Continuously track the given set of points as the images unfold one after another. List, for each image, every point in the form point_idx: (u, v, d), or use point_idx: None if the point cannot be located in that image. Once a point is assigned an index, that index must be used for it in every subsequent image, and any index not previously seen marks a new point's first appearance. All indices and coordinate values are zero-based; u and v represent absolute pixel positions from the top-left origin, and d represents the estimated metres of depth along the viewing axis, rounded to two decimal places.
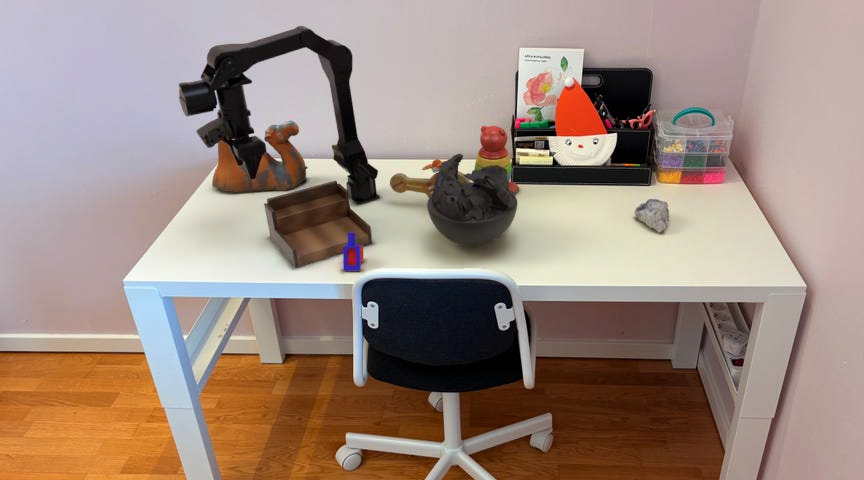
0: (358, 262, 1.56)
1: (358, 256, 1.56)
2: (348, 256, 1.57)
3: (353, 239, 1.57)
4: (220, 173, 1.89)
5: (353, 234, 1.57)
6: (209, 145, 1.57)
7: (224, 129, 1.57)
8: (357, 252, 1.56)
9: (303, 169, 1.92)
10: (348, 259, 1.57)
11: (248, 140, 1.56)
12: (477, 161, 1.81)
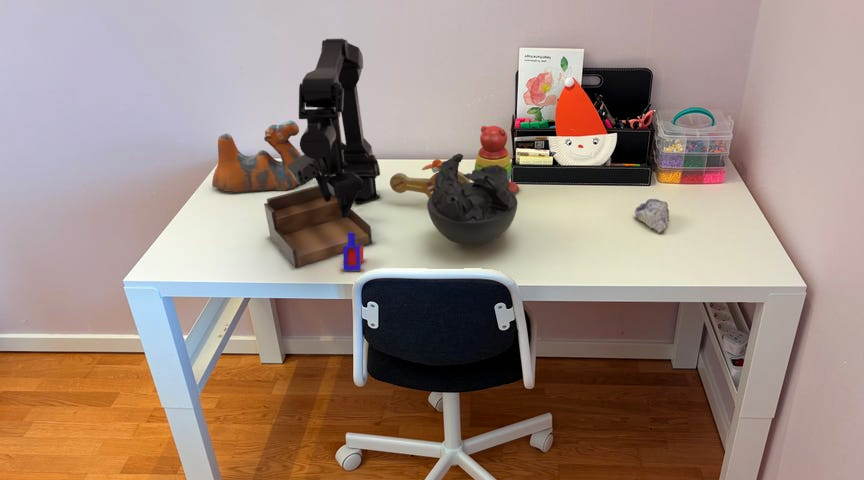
0: (358, 262, 1.56)
1: (358, 256, 1.56)
2: (348, 256, 1.57)
3: (353, 239, 1.57)
4: (220, 173, 1.89)
5: (353, 234, 1.57)
6: (302, 182, 1.44)
7: (318, 165, 1.44)
8: (357, 252, 1.56)
9: None
10: (348, 259, 1.57)
11: (345, 177, 1.43)
12: (477, 161, 1.81)
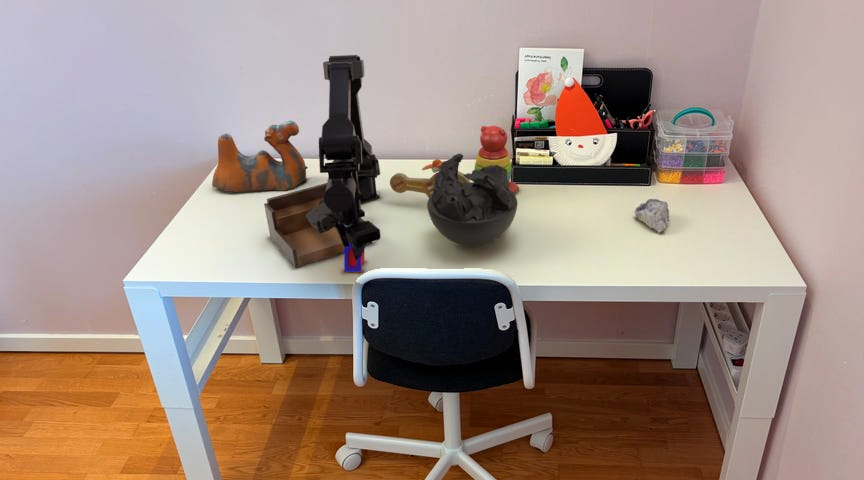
0: (359, 263, 1.56)
1: (359, 257, 1.56)
2: (349, 257, 1.56)
3: None
4: (220, 173, 1.89)
5: None
6: (320, 231, 1.49)
7: (336, 214, 1.49)
8: None
9: (303, 169, 1.92)
10: (349, 260, 1.56)
11: (362, 227, 1.48)
12: (477, 161, 1.81)
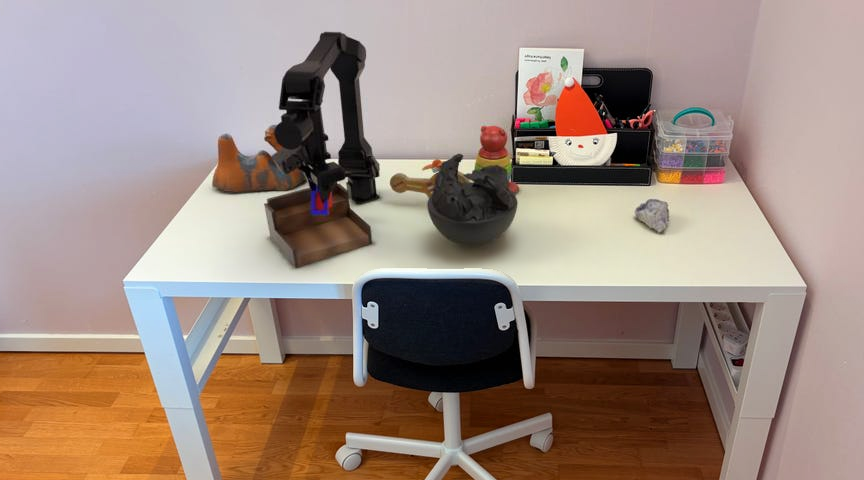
0: (326, 206, 1.57)
1: (326, 200, 1.57)
2: (316, 201, 1.58)
3: None
4: (220, 173, 1.89)
5: None
6: (286, 172, 1.50)
7: (301, 155, 1.50)
8: None
9: None
10: (316, 204, 1.58)
11: (327, 167, 1.49)
12: (477, 161, 1.81)
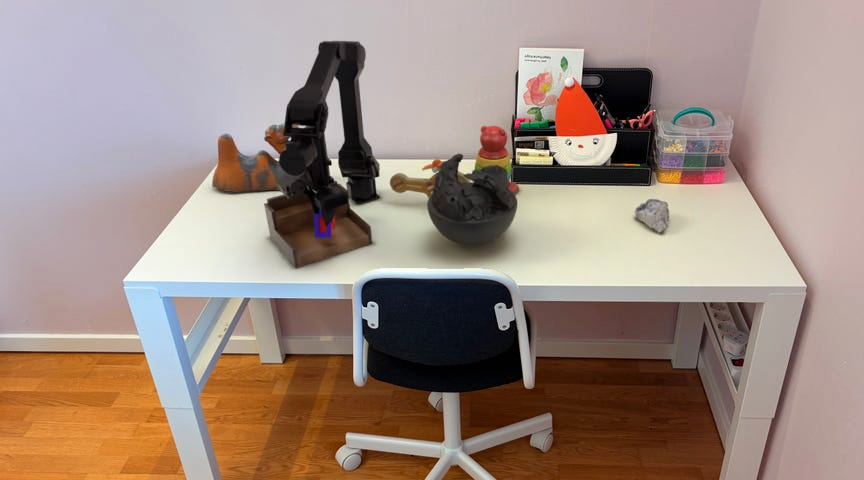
0: (329, 229, 1.60)
1: (329, 223, 1.60)
2: (319, 223, 1.61)
3: None
4: (220, 173, 1.89)
5: None
6: (290, 196, 1.53)
7: (305, 180, 1.53)
8: None
9: None
10: (319, 226, 1.61)
11: (330, 191, 1.52)
12: (477, 161, 1.81)
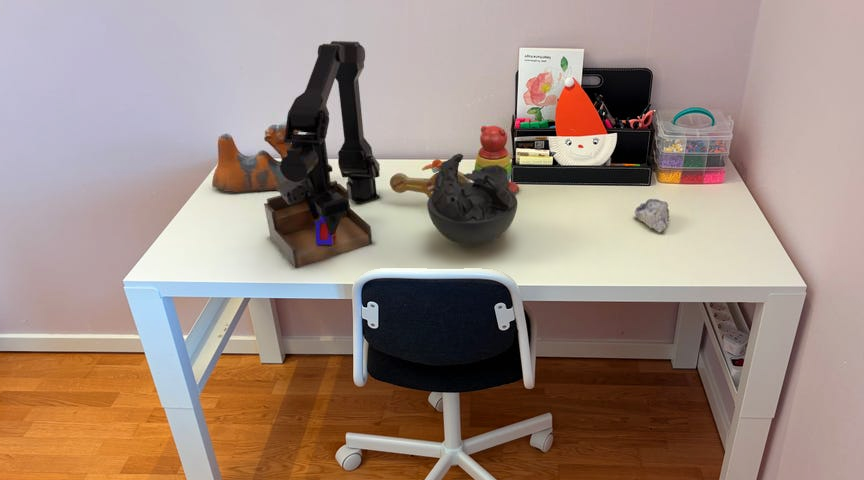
0: (330, 236, 1.61)
1: None
2: (320, 230, 1.62)
3: None
4: (220, 173, 1.89)
5: None
6: (291, 202, 1.53)
7: (306, 186, 1.54)
8: None
9: None
10: (320, 233, 1.62)
11: (331, 197, 1.52)
12: (477, 161, 1.81)
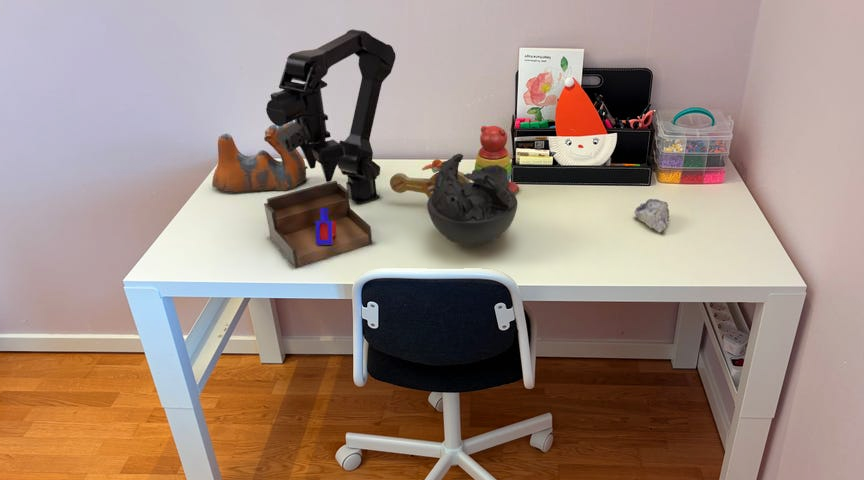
0: (330, 236, 1.61)
1: (330, 230, 1.61)
2: (320, 230, 1.62)
3: (326, 214, 1.62)
4: (220, 173, 1.89)
5: (325, 209, 1.62)
6: (289, 149, 1.61)
7: (303, 133, 1.61)
8: (329, 226, 1.61)
9: (303, 169, 1.92)
10: (320, 233, 1.62)
11: (327, 144, 1.60)
12: (477, 161, 1.81)
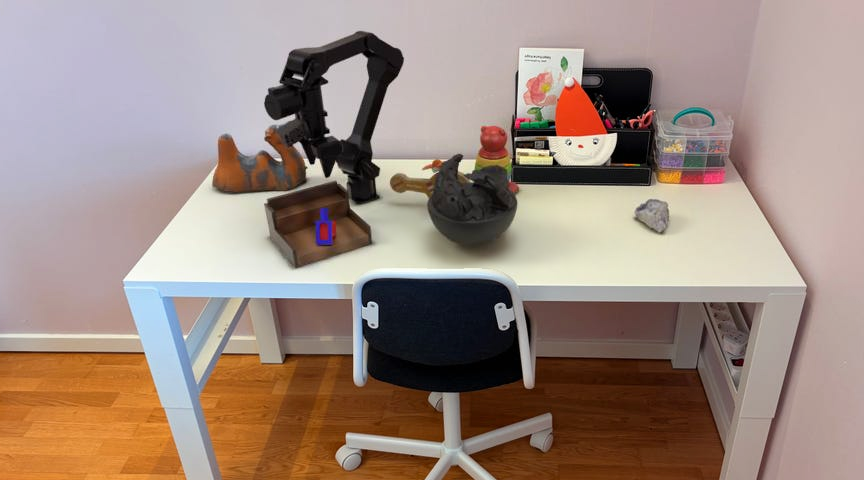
0: (330, 236, 1.61)
1: (330, 230, 1.61)
2: (320, 230, 1.62)
3: (326, 214, 1.62)
4: (220, 173, 1.89)
5: (325, 209, 1.62)
6: (288, 144, 1.63)
7: (303, 129, 1.63)
8: (329, 226, 1.61)
9: (303, 169, 1.92)
10: (320, 233, 1.62)
11: (326, 140, 1.62)
12: (477, 161, 1.81)
